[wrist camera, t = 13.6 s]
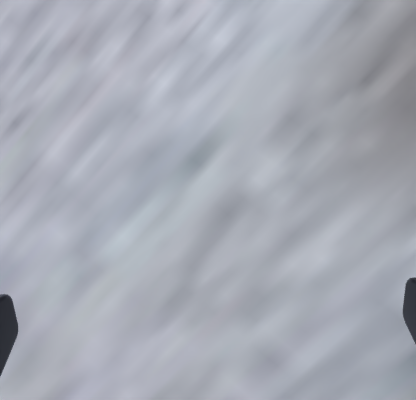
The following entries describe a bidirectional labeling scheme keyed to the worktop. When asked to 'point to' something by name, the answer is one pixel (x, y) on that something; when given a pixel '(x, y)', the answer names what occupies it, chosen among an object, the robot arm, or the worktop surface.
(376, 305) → the worktop surface
